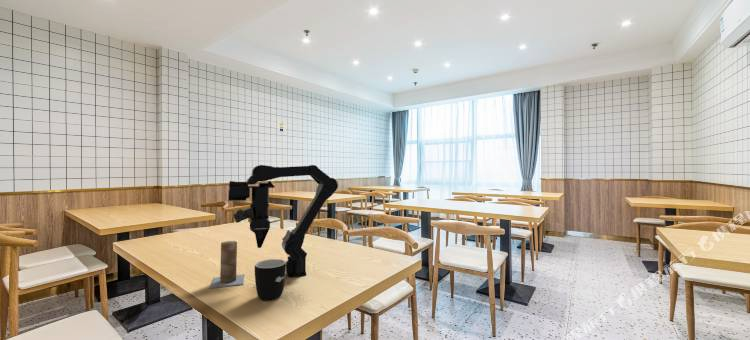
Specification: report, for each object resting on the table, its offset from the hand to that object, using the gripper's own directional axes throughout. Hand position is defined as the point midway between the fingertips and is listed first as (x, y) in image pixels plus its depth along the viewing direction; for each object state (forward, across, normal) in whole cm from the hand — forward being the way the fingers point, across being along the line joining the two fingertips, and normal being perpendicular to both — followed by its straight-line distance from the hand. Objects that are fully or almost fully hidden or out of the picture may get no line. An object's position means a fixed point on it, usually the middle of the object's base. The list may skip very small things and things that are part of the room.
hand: (259, 244), depth 108 cm
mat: (+12, -1, -10) cm, 16 cm away
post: (+12, -1, -10) cm, 15 cm away
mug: (+12, +16, +4) cm, 20 cm away
